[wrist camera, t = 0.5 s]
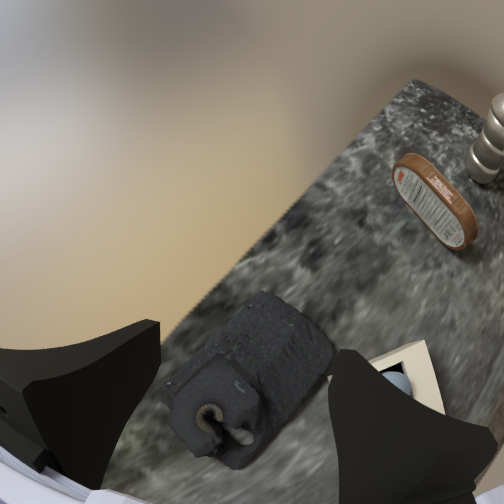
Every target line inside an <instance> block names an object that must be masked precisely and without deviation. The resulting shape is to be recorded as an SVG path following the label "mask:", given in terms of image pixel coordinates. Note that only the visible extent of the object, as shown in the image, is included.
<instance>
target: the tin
mask: <svg viewBox="0 0 504 504" xmlns="http://www.w3.org/2000/svg"><path fill="white" fill-rule="evenodd" d="M392 179H393V183H394V185H395V188H396V190H397V191H398V193H399V195H400V196H401V198H402V199H403V200H404V201H405V202H406V203H407V205H408V206H409V207H410V208H411V209H412V210H413V211H414V212H415V213H416V215H417V216H418V217H419V218H420V219H421V220H422V221H423V223H424V224H425V225H426V226H427V227H428V228H429V230H430V231H431V232H432V233H433V234H434V236H435V237H436V238H437V239H438V240H439V241H440V242H441V243H442V244H443V245H445V246H446V247H448V248H449V249H452V250H455V251H460V250H463V249H465V248H466V247H467V246H468V245H469V244H470V243H471V242H472V241H474V240H475V239H476V237H477V235H478V222H477V219H476V216H475V214H474V212H473V210H472V208H471V207H470V205H469V204H468V203H467V202H466V201H465V199H464V198H463V197H462V196H461V195H460V194H459V193H458V192H457V190H456V189H455V188H454V187H453V186H452V185H451V184H450V183H449V182H448V181H447V180H446V179H445V178H444V177H443V176H442V175H441V173H440V172H439V171H438V170H437V169H436V168H435V167H434V166H433V165H432V164H431V163H430V162H429V161H427V160H426V159H425V158H423V157H421V156H420V155H417V154H414V153H408V154H406V155H404V156H403V157H402V158H401V159H400V160H399V161H397V162H396V163H395V164H394V166H393V170H392Z"/></svg>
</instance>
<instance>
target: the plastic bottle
mask: <svg viewBox="0 0 504 504" xmlns="http://www.w3.org/2000/svg"><path fill="white" fill-rule="evenodd" d="M503 161H504V93H501V94H499V95H496V96H495V98H493V100H492V103H491V106H490V110H489V114H488V117H487V120H486V122H485V125H484V127H483V129H482V132H481V133H480V135H479V136H478V138H477V139H476V141H475V142H474V143H473V144H472V145H471V146H470V148H469V149H468V150H467V152H466V155H465V158H464V164H465V168H466V171H467V173H468V174H469V176H470V177H471V178H472V179H473V180H474V181H476V182H477V183H480V184H488V183H490V182H491V181H493V180H494V179H495V178H496V176H497V174H498V172H499V169H500V166H501V164H502V162H503Z"/></svg>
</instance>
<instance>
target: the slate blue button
mask: <svg viewBox="0 0 504 504" xmlns="http://www.w3.org/2000/svg"><path fill="white" fill-rule="evenodd" d="M381 374H382V375H383V376H385V377H386V378H387V379H388V380H389V381H390V382H392V383H393V384H394V385H395V386H397V387H398V388H399V389H401V390H402V391H403V392H405V393H406V394H408V395H409V396H410V394H411V383H410V381H409V379H408V378H407V376H405V375H404V374H402V373H400V372H391V371H385V372H382V373H381Z"/></svg>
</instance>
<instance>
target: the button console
mask: <svg viewBox="0 0 504 504" xmlns="http://www.w3.org/2000/svg"><path fill="white" fill-rule="evenodd" d="M368 362H369V363H370V364H371V365H372V366H373V367H375V368H376V369H377V370H378V371H381V370H383V369H386V368H388V367H390V366H393V365H395V364H397V363H399V362H401V365H402V368H403V371H404V374H405V376H407V378H408V379H409V381H410V383H411V394H410V395H411V397H412V398H414V399H415V400H417V401H419V402H420V403H422V404H424V405H426V406H427V407H429V408H431V409H434V410H436V411H438V412H440V413H442V414H444V415H445V411H444V407H443V403H442V399H441V395H440V391H439V387H438V384H437V380H436V376H435V373H434V369H433V366H432V363H431V359H430V356H429V353H428V350H427V347H426V344H425V341H424V340H421V341H416V342H412V343H408V344H406V345H404V346H401V347H399V348H397V349H395V350H393V351H390V352H388V353H386V354H384V355H381V356H379V357H377V358H374V359H372V360H369V361H368ZM327 378H328V381H329V384H330V381H331V378H332V375H330V376H327Z"/></svg>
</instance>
